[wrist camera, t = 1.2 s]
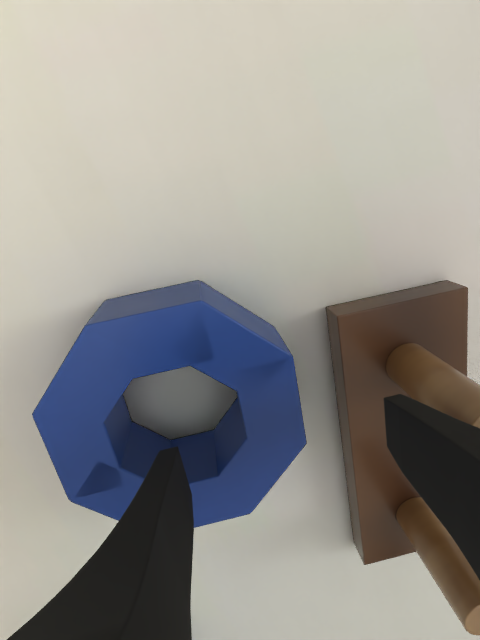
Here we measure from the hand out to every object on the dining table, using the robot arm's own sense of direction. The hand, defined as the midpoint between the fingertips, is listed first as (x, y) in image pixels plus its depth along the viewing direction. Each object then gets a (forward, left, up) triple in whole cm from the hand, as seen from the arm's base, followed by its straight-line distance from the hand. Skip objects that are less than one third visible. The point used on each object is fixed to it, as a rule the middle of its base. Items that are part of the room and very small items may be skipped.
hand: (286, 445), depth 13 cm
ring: (-4, 0, -6) cm, 7 cm away
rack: (+7, -5, -6) cm, 10 cm away
